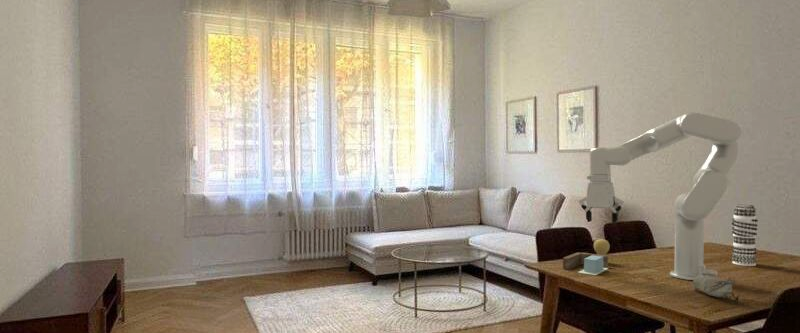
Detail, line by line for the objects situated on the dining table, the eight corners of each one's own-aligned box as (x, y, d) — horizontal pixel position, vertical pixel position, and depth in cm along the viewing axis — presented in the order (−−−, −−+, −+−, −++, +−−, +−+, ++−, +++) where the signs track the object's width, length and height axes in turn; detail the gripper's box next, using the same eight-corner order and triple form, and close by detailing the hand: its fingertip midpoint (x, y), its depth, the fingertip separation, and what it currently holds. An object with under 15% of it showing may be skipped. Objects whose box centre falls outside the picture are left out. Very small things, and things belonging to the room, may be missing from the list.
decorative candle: (749, 261, 220) (750, 203, 219) (762, 266, 211) (763, 206, 210) (726, 261, 221) (727, 203, 220) (738, 265, 212) (739, 205, 211)
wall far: (582, 263, 217) (582, 252, 217) (567, 269, 205) (567, 258, 205) (577, 262, 218) (578, 252, 218) (562, 268, 206) (562, 257, 206)
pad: (608, 268, 206) (608, 268, 206) (595, 275, 195) (595, 274, 195) (591, 266, 211) (591, 265, 211) (577, 272, 199) (577, 272, 199)
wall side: (607, 266, 210) (608, 255, 210) (606, 267, 209) (606, 256, 208) (577, 262, 218) (578, 252, 218) (576, 263, 217) (576, 252, 216)
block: (595, 273, 198) (595, 260, 198) (584, 271, 201) (584, 258, 201) (603, 269, 205) (603, 256, 205) (592, 267, 208) (592, 255, 208)
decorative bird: (701, 290, 174) (701, 268, 174) (742, 304, 159) (742, 280, 158) (687, 291, 173) (688, 269, 173) (727, 305, 157) (728, 281, 157)
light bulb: (607, 264, 214) (607, 240, 214) (591, 262, 218) (591, 239, 218) (611, 262, 219) (611, 238, 219) (596, 260, 223) (596, 237, 223)
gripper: (575, 179, 204) (576, 222, 205) (620, 179, 193) (621, 224, 194) (582, 178, 210) (583, 220, 210) (626, 178, 199) (627, 222, 199)
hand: (601, 222), depth 202 cm, fingers open, 9 cm apart
